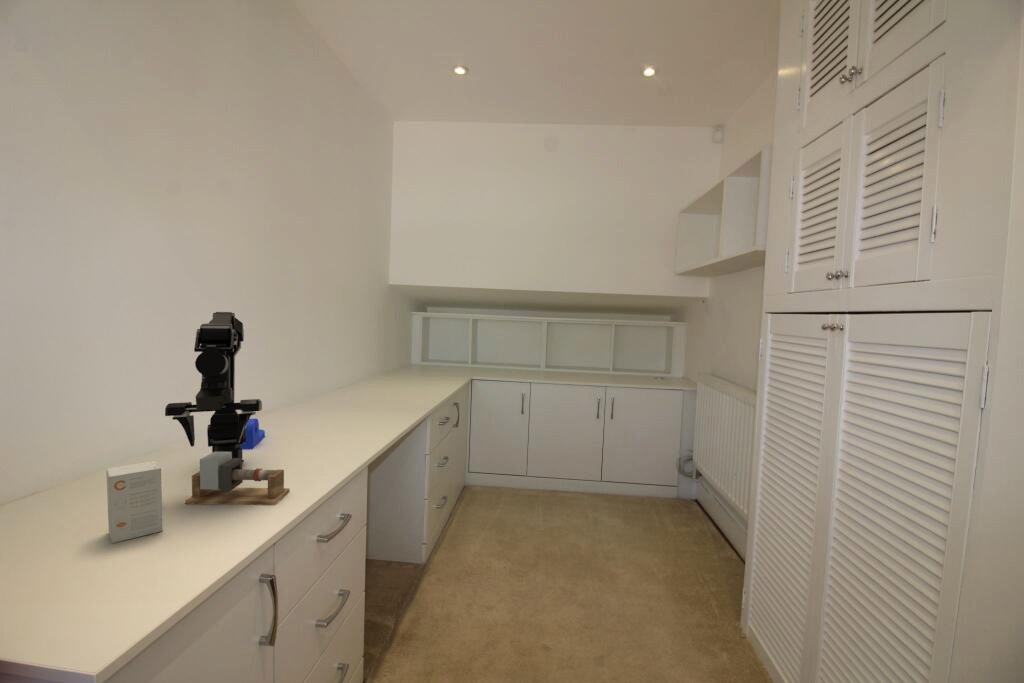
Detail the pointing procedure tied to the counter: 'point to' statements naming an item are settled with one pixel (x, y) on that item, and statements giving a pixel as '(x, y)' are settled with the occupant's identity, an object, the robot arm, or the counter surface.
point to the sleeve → (212, 469)
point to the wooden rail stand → (242, 489)
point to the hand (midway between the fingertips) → (215, 444)
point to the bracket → (253, 434)
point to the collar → (229, 475)
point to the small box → (134, 500)
